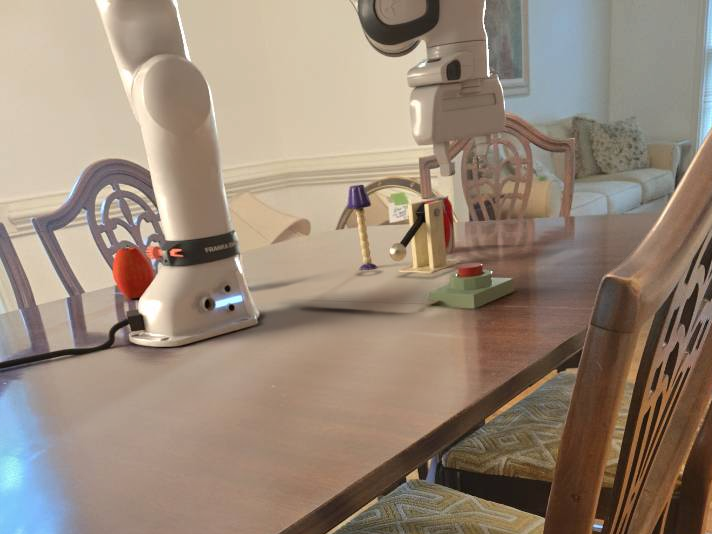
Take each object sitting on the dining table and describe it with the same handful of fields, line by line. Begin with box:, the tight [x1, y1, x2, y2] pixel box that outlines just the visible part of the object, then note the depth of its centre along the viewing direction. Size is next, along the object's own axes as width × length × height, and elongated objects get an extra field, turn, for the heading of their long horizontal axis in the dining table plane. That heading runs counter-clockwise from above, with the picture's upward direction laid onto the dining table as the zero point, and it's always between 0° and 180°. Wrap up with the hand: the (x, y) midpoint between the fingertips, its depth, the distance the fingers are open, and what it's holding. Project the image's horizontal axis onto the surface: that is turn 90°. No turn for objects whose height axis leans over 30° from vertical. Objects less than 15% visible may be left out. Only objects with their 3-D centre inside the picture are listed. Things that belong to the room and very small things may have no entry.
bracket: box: [398, 200, 462, 274], centre depth 150 cm, size 10×8×13 cm
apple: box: [112, 245, 156, 300], centre depth 159 cm, size 8×8×11 cm
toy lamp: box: [347, 184, 378, 271], centre depth 155 cm, size 5×5×17 cm
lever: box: [389, 203, 427, 262], centre depth 146 cm, size 14×3×3 cm, turn 142°
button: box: [457, 262, 484, 277], centre depth 126 cm, size 4×4×2 cm
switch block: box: [427, 269, 515, 310], centre depth 128 cm, size 12×9×4 cm
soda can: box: [420, 194, 456, 255], centre depth 164 cm, size 7×7×12 cm
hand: (464, 172), depth 119 cm, fingers open, 8 cm apart
